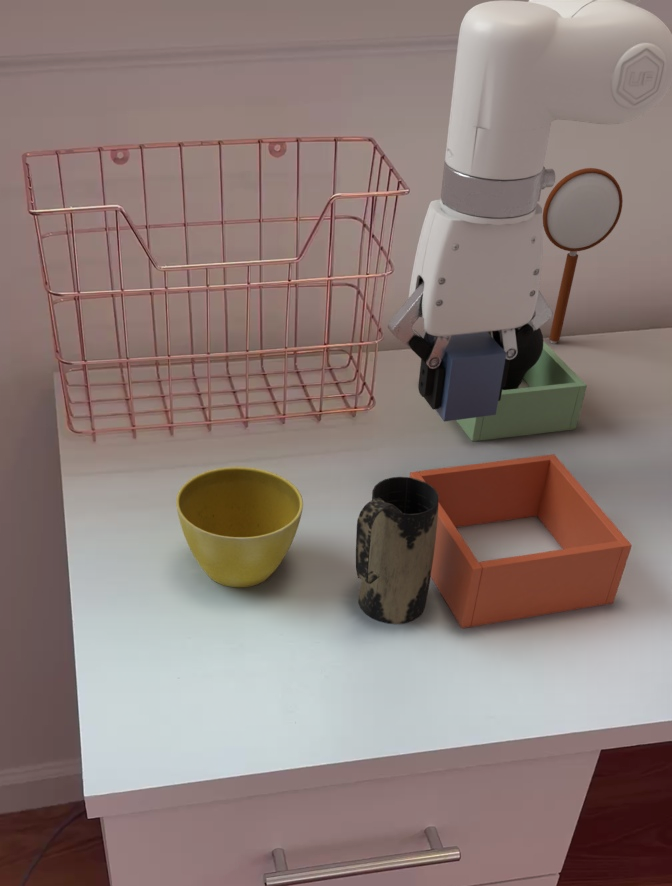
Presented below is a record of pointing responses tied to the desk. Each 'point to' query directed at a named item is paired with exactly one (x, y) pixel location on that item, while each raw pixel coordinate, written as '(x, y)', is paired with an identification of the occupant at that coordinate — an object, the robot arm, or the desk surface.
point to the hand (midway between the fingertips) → (460, 396)
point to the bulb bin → (534, 403)
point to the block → (471, 376)
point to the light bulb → (524, 359)
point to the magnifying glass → (579, 223)
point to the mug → (396, 549)
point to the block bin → (528, 576)
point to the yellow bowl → (239, 522)
